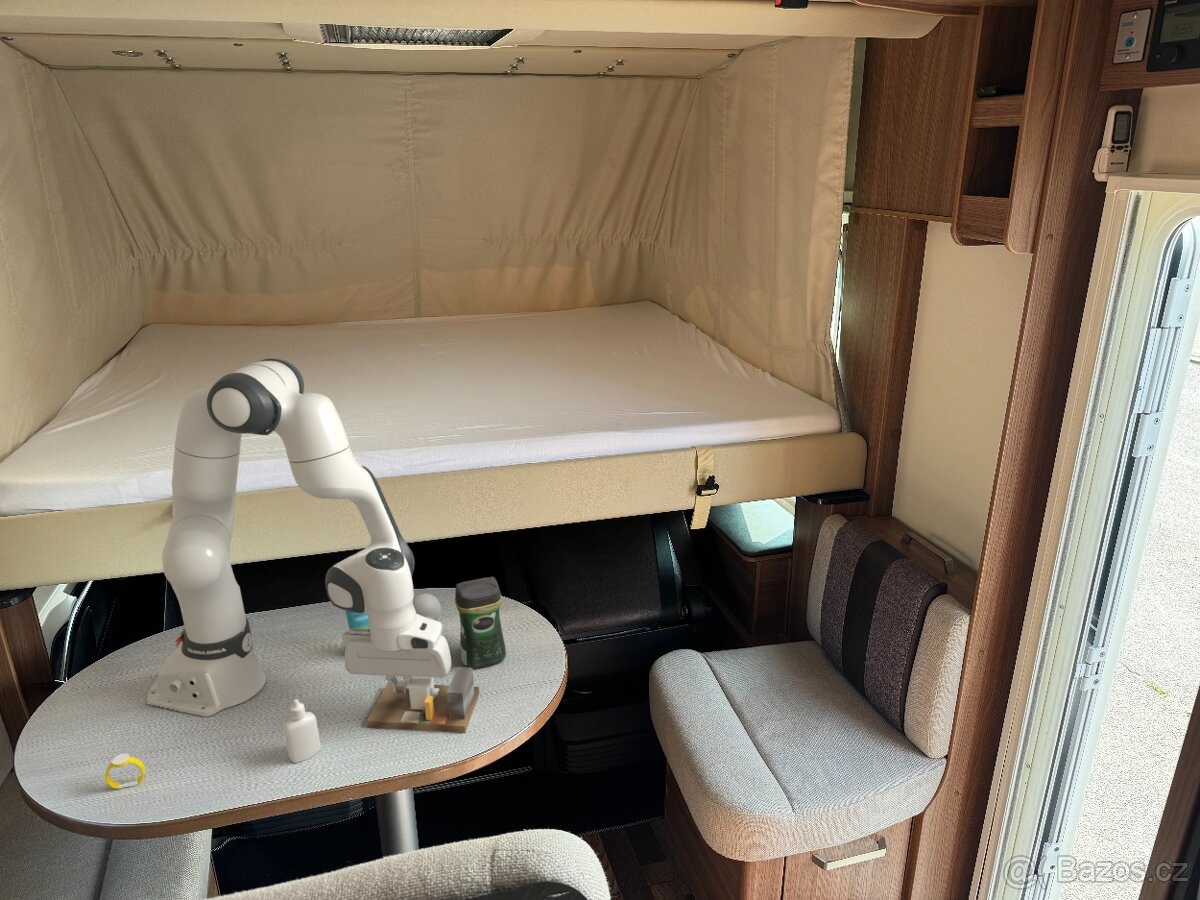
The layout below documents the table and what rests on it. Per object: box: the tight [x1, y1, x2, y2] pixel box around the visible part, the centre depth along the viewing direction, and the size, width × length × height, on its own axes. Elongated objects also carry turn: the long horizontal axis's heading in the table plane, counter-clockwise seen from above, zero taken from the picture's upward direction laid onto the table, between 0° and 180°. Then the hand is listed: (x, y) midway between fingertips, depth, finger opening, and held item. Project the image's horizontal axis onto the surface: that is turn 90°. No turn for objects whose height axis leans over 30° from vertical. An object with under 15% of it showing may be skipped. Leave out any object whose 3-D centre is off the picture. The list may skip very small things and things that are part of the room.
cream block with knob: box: [406, 677, 440, 720], centre depth 165 cm, size 6×8×5 cm
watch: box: [104, 752, 146, 790], centre depth 149 cm, size 6×3×6 cm, turn 109°
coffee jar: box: [454, 576, 507, 669], centre depth 181 cm, size 10×8×19 cm
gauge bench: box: [366, 666, 480, 734], centre depth 167 cm, size 19×12×8 cm, turn 85°
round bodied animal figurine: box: [413, 592, 442, 623], centre depth 192 cm, size 7×12×8 cm, turn 12°
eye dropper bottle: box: [283, 698, 322, 764], centre depth 155 cm, size 4×6×12 cm
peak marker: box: [424, 696, 434, 720], centre depth 163 cm, size 1×2×4 cm, turn 174°
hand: (401, 691), depth 167 cm, fingers closed
